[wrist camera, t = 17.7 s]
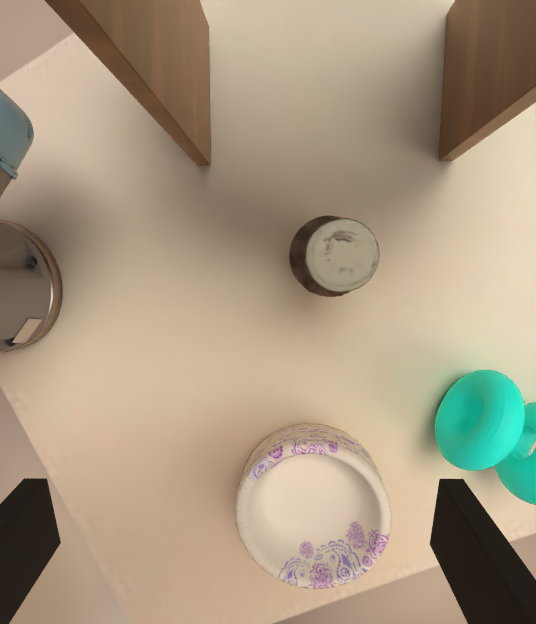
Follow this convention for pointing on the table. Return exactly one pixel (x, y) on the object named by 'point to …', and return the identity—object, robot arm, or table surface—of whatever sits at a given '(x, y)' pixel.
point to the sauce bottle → (333, 255)
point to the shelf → (196, 75)
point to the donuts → (490, 430)
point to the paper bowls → (313, 507)
